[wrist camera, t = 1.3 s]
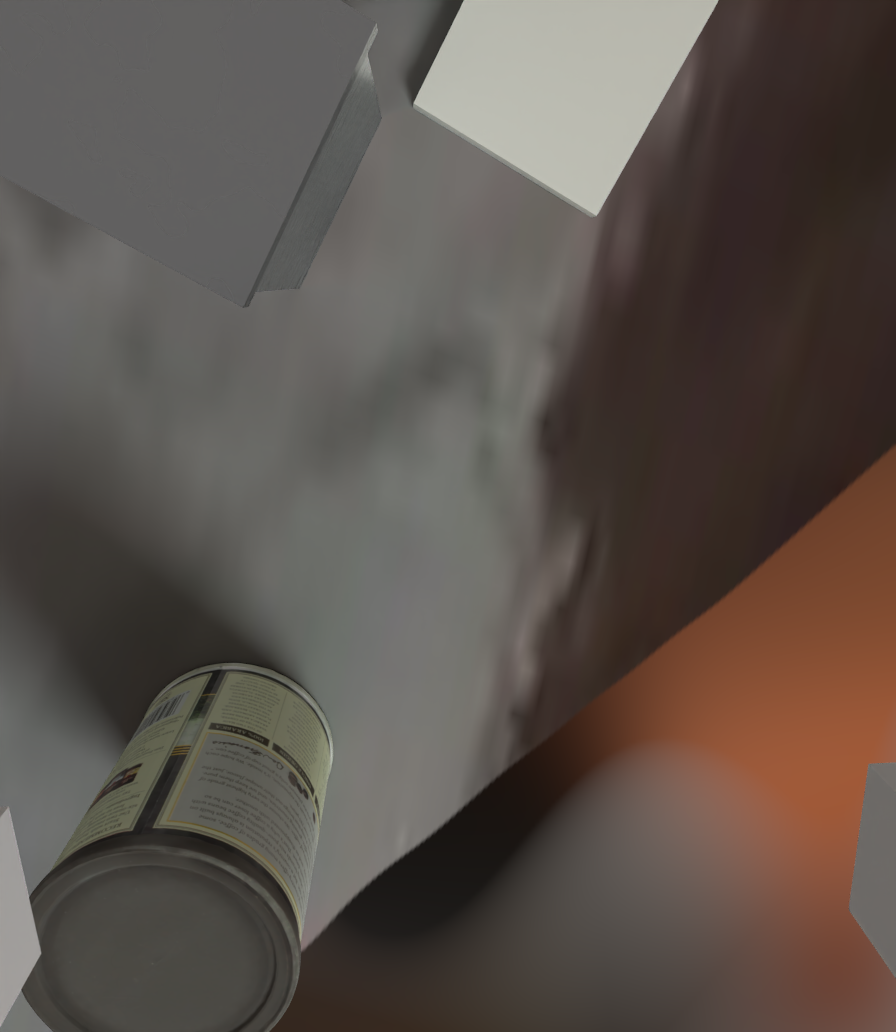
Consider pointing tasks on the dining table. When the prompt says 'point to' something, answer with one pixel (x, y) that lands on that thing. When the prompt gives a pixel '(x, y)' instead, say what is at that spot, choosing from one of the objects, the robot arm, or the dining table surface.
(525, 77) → the tile
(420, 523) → the dining table surface
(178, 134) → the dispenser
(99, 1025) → the coffee can
